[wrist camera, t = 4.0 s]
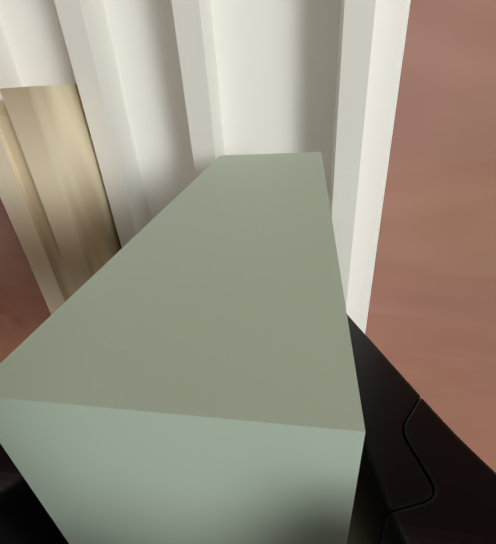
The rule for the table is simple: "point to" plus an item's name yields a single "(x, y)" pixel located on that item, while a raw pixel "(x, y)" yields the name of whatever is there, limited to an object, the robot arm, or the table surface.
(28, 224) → the offcut bundle
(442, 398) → the table surface
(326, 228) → the sage green block
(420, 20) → the table surface
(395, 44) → the slot rack
